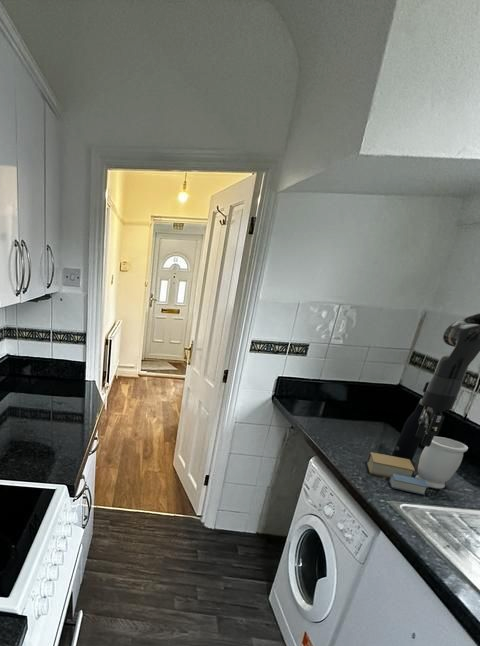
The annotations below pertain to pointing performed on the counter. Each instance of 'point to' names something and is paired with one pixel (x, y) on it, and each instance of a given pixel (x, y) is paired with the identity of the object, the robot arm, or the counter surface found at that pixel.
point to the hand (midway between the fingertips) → (422, 441)
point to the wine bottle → (410, 433)
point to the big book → (389, 465)
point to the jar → (440, 461)
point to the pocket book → (408, 483)
